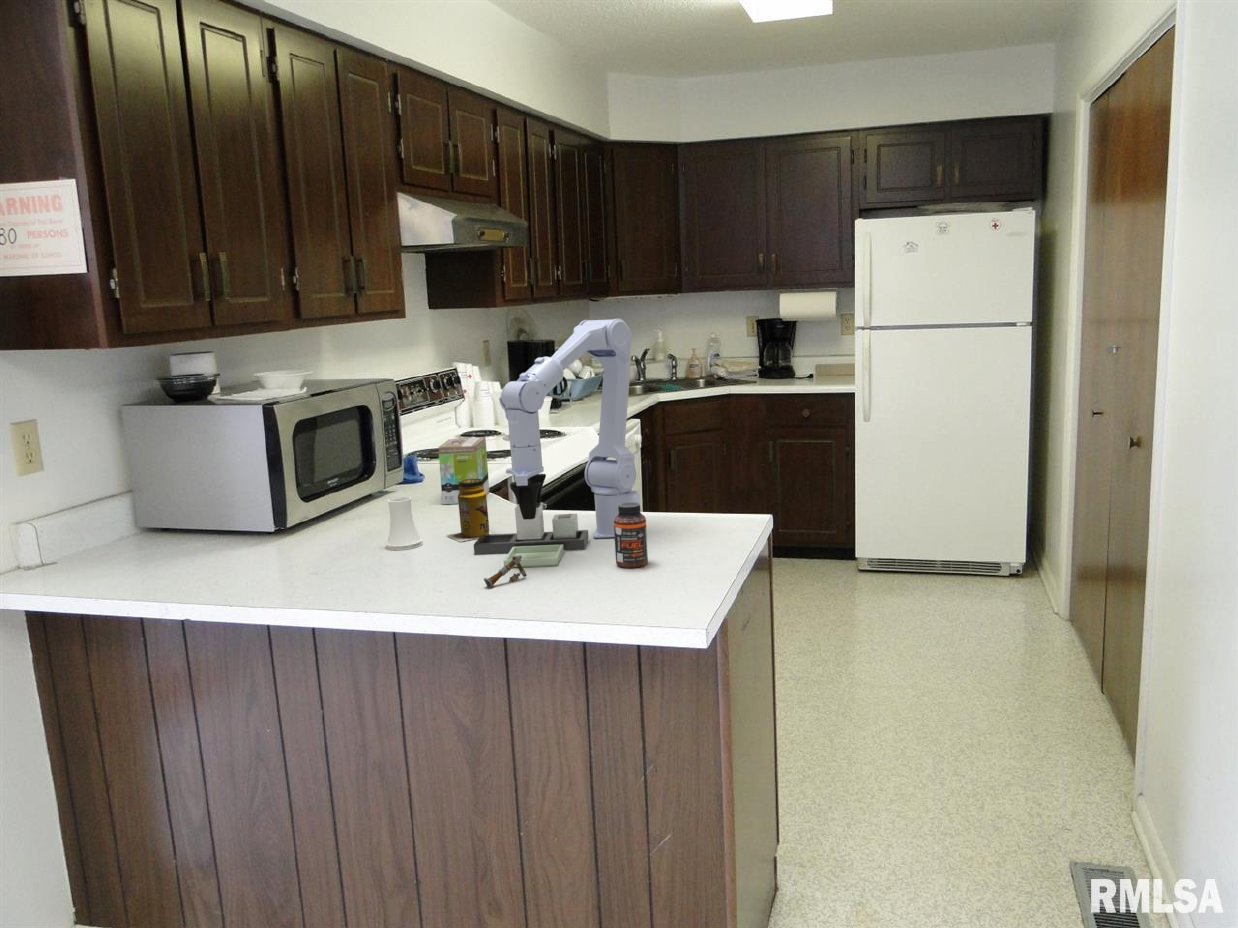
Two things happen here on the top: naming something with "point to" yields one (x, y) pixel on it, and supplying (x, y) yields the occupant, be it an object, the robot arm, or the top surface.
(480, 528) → the condiment
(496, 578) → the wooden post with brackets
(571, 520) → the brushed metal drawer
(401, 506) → the vase
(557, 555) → the parts tray
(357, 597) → the top surface
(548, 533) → the rack frame
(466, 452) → the tea box
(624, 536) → the supplement bottle
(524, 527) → the grey box
